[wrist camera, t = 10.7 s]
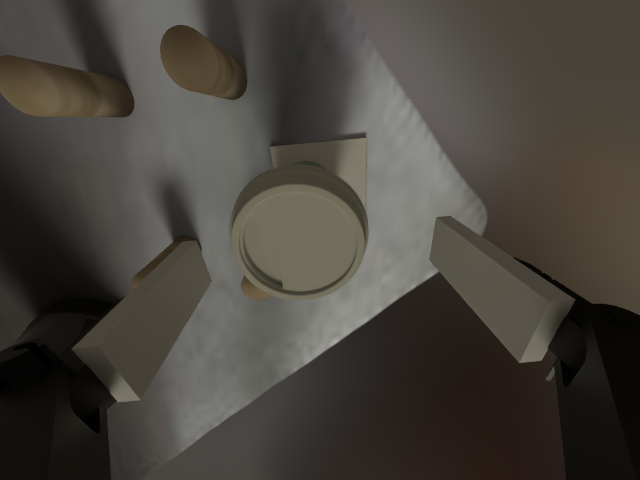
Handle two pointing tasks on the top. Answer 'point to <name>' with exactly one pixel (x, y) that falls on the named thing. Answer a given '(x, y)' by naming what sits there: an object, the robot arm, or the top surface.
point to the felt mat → (330, 159)
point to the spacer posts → (125, 95)
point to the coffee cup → (298, 231)
